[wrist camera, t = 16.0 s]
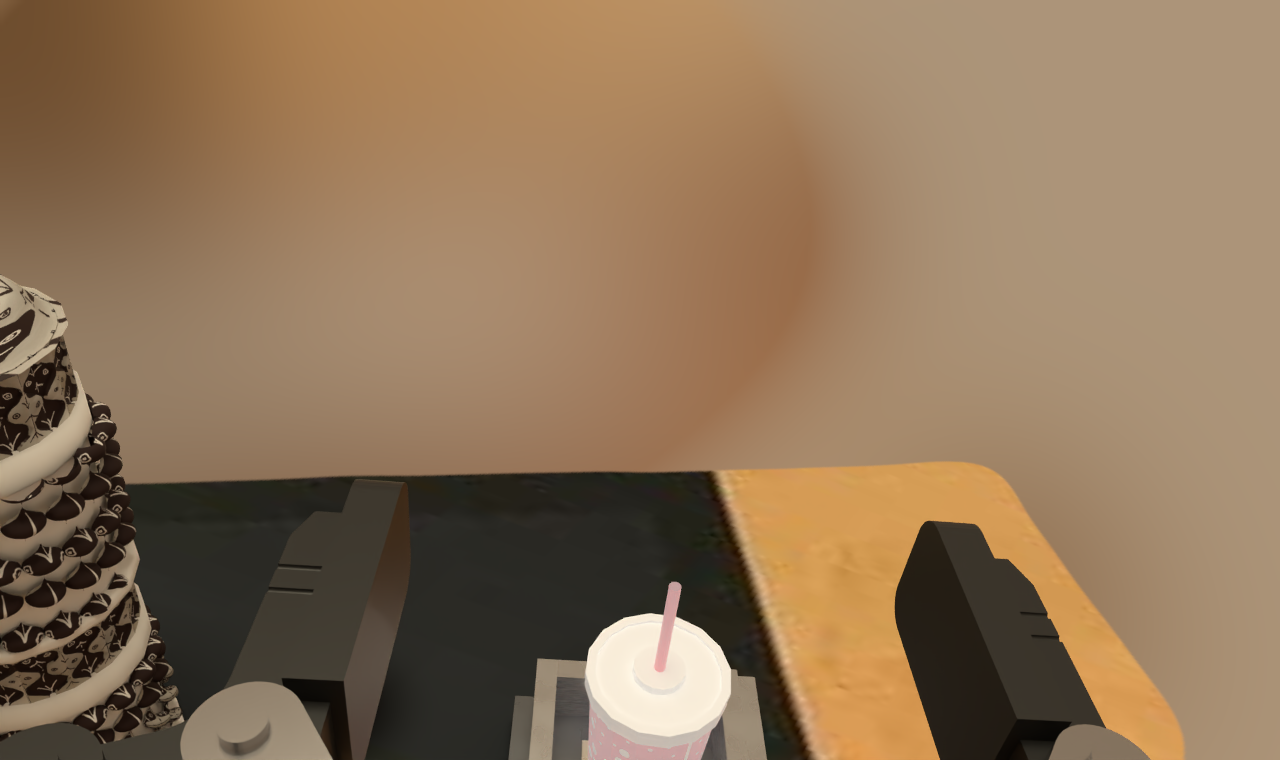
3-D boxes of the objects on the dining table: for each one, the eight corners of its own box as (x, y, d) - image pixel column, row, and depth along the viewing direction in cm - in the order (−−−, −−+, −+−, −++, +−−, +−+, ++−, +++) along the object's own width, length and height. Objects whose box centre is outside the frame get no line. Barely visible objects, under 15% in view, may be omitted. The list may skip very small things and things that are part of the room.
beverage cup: (659, 718, 46) (700, 514, 38) (724, 824, 42) (786, 619, 34) (548, 764, 43) (568, 555, 35) (607, 882, 39) (644, 674, 31)
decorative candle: (150, 851, 40) (-15, 389, 26) (-73, 845, 39) (-366, 366, 25) (222, 678, 48) (124, 249, 34) (36, 670, 47) (-143, 227, 33)
